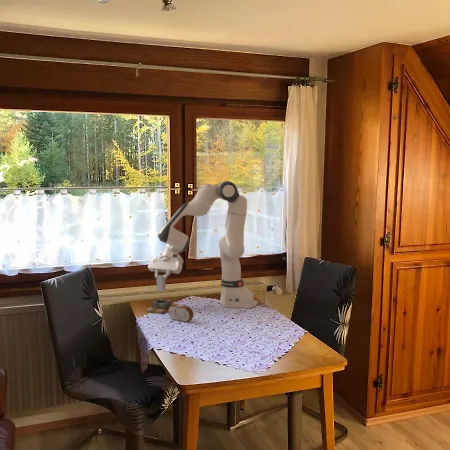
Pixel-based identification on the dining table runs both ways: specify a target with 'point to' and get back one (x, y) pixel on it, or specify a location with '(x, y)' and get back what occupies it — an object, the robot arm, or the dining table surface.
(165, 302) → the socket board
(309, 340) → the dining table surface
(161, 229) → the robot arm
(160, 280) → the key block
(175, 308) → the tin
